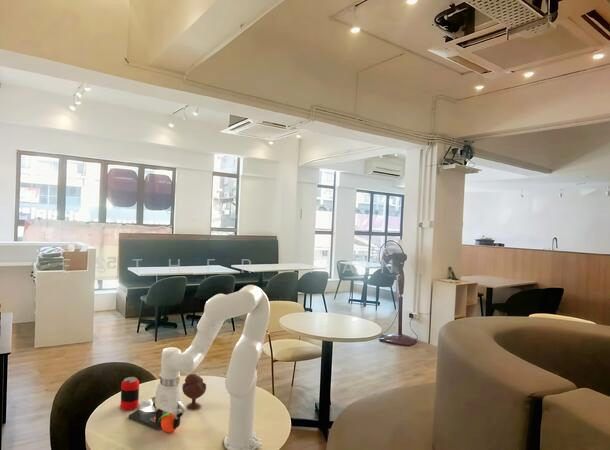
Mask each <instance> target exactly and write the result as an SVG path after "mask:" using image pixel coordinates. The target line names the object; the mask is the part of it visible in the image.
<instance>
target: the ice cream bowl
mask: <svg viewBox="0 0 610 450" xmlns="http://www.w3.org/2000/svg"><path fill="white" fill-rule="evenodd" d="M181 390H182V393H183V394H184V395H185V397H187V398H188V399H190V400H191V402H190V403H188V404H187V409H189V410H192V411H193V410H198V409H200V404H199V403H198V402H196V400H197V399H199V398H201V397H202V396H203V395H204V394H205V393H206V391H207V384H206V383H205V382H204V379H203V378H202V377H201V376H200V375H197V374H195V373H189V374H187V375H186V376H185V379H184V383H182V385H181Z"/></svg>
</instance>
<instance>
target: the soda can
mask: <svg viewBox="0 0 610 450" xmlns="http://www.w3.org/2000/svg"><path fill="white" fill-rule="evenodd" d="M120 387H121V388H120V389H121V390H120V408H121V410H123V411H133V410H136V409H138V405H139V398H140V397H139V396H140V381H139V379H138V378H137V377H136V376H128V377H125V378H123V380H122V382H121V385H120Z"/></svg>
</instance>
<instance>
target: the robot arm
mask: <svg viewBox="0 0 610 450" xmlns="http://www.w3.org/2000/svg"><path fill="white" fill-rule="evenodd" d="M203 309H204V310H203V314H202V315H201V317H200V319H199V320H198V323H197V325H196V329H197V330H196V334H195V337H194V338H193V339H192V342H191V343H190V345H189V347H188V348H186V350H185V351H184V352H183V351H181V349H180V348H178V347H176V346H175V347H173V346H169V347H165V348H163V349H162V352H161V359H160V373H159V374H158V378H160V379H159V381H158V383H157V386H156V391H155V395H154V396H152V397H151V399H152V402H153V406H154V408H155V411H156V422H158V421H159V419H160V420H161V419H162V418H160V417H161V416H162V410H163V411H166V412H169V413H172V414H174V417H175V418H174V422H173V429H175V430H176V429H177V428H179V427H180V424H181V417H182V416H184V414H185V413H186V412H187V409H188V408H186V406H185V405H184V403H182V385H181V384H180V380H181V379H180V377H181V373H182V374H184V375H189V374H192V373H193V372H194V371H195V370H196V369H197V367H198V366H199V365H200V363H202V361H204V358H206V355H207V354H208V352H209V350H210V348H211V346H212V344H213V342H214V340H216V337H217V335H218V333H219V332H220V330H221V328H222V326H223V324H224V323H225V321H227V320H230V319H232V318H237V317H241V316H245V315H246V319H245V321H244V327H243V330H242V333H241V336H240V338H239V340H238V341H237V342H236V344H235V346H234V348H233V350H232V353H231V356H230V360H229V364H228V368H227V370H226V371H227V372H226V375H225V380H224V384H225V389H226V391H227V393H228V394H229V408H228V410H229V411H228V431H227V435H226V436H224V438H223V446H224V448H225V449H227V450H256V449H259V450H262V448H263V445H264V444H263V439H261V438H258V437H257V432H255V431H254V430H255V428H254V427H255V411H256V410H255V408H256V407H255V406H256V390H257V382H258V370H257V366H258V363H259V360H260V358H261V356H262V353H263V348H264V342H265V338H266V334H267V331H268V325H269V322H270V316H271V305H270V301H269V298H268V296H267V294H266V293H265V292H264V291H263V290H262V289H261V288H260V287H259V286H257V285H255V284H247V285H245V286H243V287H242V288H240V289H239V290H237V291H235V292H232V293H228V294H224V293H217V294H215V295H213V296H212V297H210V298H209V299H208V300H207V301H206V302H205V304H204V308H203ZM176 412H177V413H178V415H177V413H176Z"/></svg>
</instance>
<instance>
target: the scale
mask: <svg viewBox="0 0 610 450" xmlns="http://www.w3.org/2000/svg"><path fill="white" fill-rule="evenodd" d="M167 413H169V412H166V411H163V410H162V416H163V415H164V414H167ZM176 413H177V411H176ZM177 415H178V413H177ZM154 417H156V413H154V414H145V413H142V412H140V411H139V410H138V409H137V410H135V411H133V412H132V413H130V414H128V419H129V420H132V421H134V422H137V423H139V424H142V425H144V426H147V427H150V428H152V429H155V430H157V431H159V430H160V429H162V427H161V420H159V421H158V422H156V420H154Z"/></svg>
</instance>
